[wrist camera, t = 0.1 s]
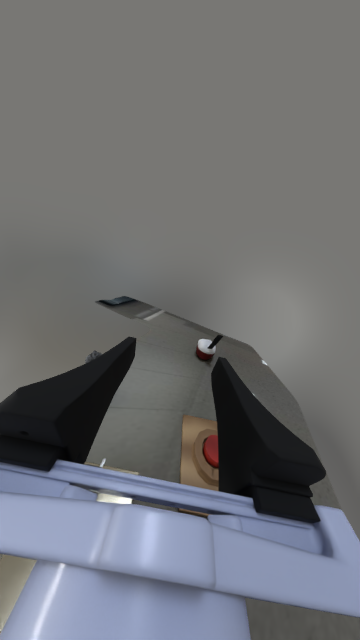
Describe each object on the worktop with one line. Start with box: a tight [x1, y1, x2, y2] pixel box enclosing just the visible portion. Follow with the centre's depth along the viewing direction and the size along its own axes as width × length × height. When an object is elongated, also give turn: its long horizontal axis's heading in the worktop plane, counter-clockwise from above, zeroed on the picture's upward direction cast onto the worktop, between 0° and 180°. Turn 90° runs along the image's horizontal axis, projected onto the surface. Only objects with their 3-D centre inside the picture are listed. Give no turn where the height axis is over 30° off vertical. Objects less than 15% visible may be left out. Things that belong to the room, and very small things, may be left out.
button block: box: [178, 415, 219, 517], centre depth 23 cm, size 12×10×2 cm
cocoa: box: [196, 335, 223, 360], centre depth 46 cm, size 10×6×12 cm, turn 165°
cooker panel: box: [0, 458, 139, 634], centre depth 14 cm, size 13×10×3 cm
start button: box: [203, 435, 219, 468], centre depth 23 cm, size 4×4×2 cm
